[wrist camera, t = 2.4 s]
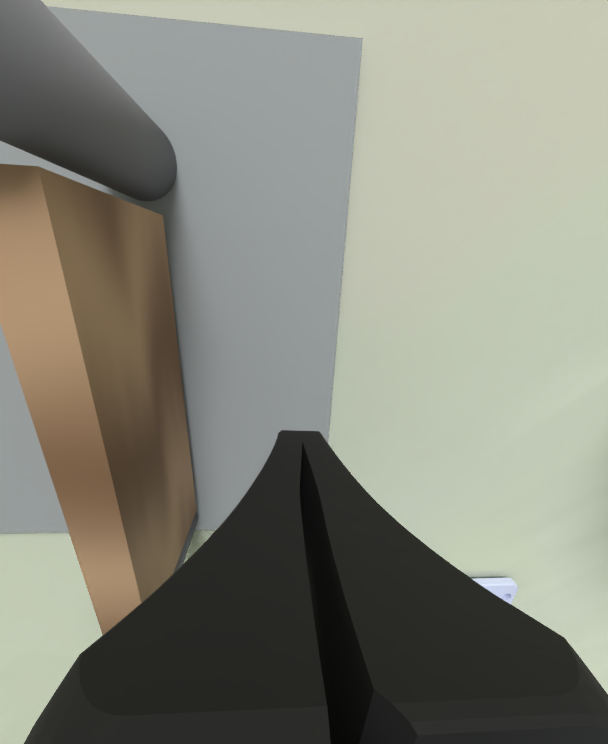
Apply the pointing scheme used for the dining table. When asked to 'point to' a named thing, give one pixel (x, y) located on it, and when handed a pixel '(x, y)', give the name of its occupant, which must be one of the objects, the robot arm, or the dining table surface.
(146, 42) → the gate frame
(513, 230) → the dining table surface
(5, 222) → the board
